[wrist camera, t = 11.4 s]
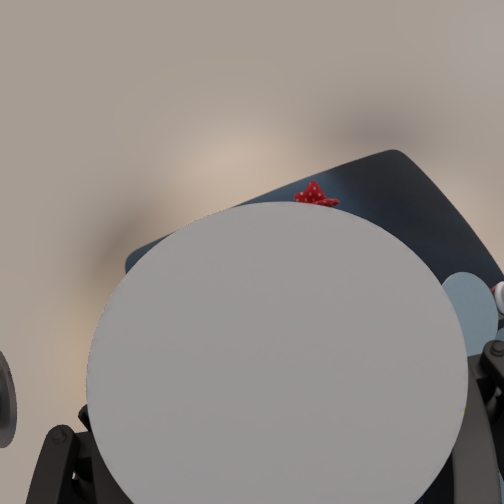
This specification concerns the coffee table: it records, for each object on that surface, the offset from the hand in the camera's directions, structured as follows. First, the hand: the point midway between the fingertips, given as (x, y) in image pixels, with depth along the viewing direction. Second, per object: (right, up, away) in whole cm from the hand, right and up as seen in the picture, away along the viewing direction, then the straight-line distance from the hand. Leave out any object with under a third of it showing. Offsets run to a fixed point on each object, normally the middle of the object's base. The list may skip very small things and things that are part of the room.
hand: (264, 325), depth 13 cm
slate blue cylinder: (+19, -8, +15) cm, 25 cm away
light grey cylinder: (+1, -5, +2) cm, 5 cm away
